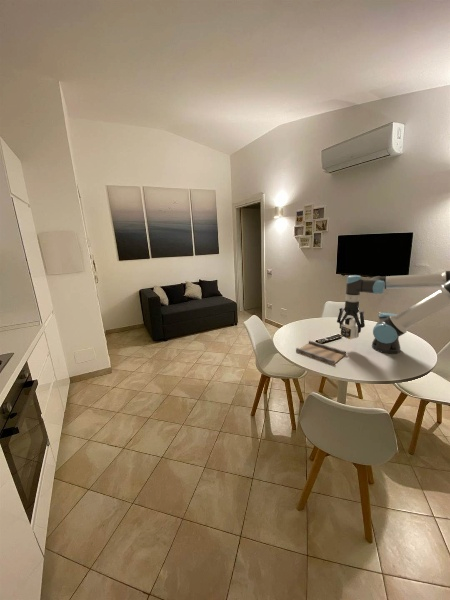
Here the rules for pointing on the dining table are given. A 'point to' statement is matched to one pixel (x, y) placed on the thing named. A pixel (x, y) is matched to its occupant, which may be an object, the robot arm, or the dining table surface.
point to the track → (322, 352)
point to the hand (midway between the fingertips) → (349, 335)
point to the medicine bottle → (349, 328)
